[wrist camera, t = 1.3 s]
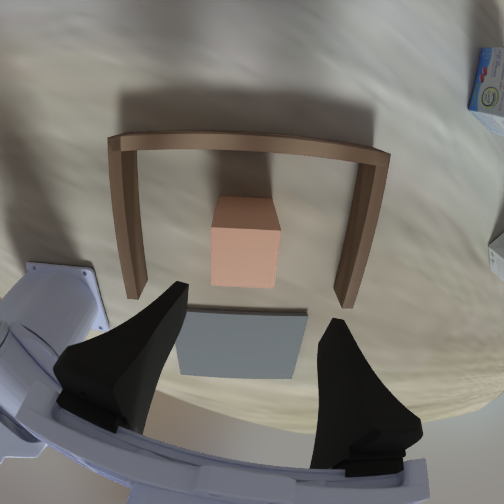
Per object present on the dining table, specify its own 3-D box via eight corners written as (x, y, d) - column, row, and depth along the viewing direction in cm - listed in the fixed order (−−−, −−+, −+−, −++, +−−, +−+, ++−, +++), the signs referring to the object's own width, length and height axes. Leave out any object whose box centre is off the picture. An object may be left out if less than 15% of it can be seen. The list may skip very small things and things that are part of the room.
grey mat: (181, 371, 31) (180, 374, 31) (171, 307, 26) (170, 310, 26) (291, 375, 32) (291, 378, 31) (307, 312, 27) (308, 316, 27)
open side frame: (137, 278, 25) (127, 298, 22) (124, 132, 19) (107, 137, 16) (343, 288, 26) (352, 308, 23) (373, 147, 20) (390, 154, 17)
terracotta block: (218, 243, 23) (211, 285, 18) (219, 195, 21) (210, 227, 16) (267, 245, 24) (273, 288, 18) (272, 198, 22) (281, 230, 16)
